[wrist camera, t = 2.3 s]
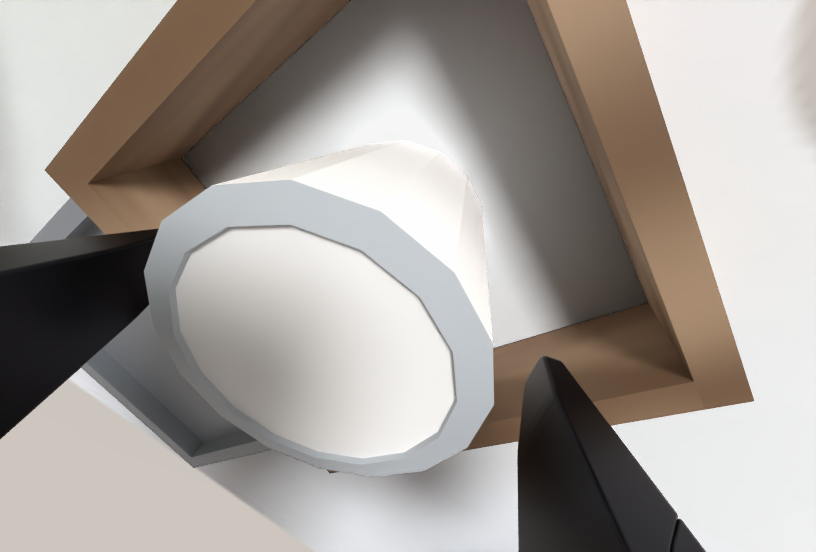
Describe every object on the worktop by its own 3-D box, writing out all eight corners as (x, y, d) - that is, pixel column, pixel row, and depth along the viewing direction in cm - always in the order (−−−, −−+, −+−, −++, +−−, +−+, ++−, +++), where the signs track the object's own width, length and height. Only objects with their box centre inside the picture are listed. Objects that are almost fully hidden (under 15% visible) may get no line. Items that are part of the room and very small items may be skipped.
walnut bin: (693, 316, 12) (754, 400, 9) (359, 405, 18) (329, 473, 15) (501, -217, 7) (495, -406, 4) (146, 147, 13) (44, 170, 11)
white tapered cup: (315, 290, 15) (189, 436, 9) (300, 106, 11) (78, 151, 6) (483, 323, 14) (463, 516, 8) (526, 130, 10) (547, 220, 4)
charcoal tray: (337, 412, 19) (324, 437, 17) (210, 446, 23) (193, 467, 22) (126, 167, 14) (89, 177, 13) (24, 271, 19) (-10, 286, 18)
